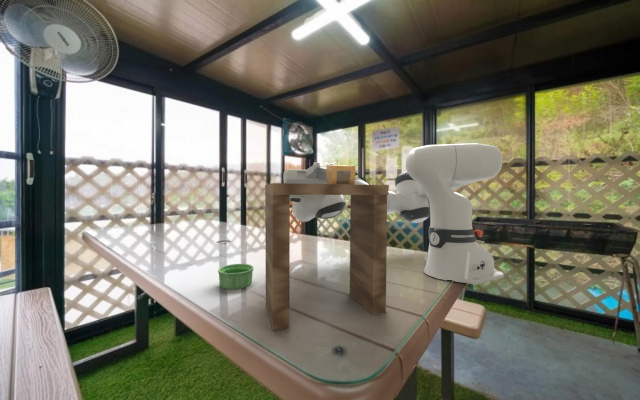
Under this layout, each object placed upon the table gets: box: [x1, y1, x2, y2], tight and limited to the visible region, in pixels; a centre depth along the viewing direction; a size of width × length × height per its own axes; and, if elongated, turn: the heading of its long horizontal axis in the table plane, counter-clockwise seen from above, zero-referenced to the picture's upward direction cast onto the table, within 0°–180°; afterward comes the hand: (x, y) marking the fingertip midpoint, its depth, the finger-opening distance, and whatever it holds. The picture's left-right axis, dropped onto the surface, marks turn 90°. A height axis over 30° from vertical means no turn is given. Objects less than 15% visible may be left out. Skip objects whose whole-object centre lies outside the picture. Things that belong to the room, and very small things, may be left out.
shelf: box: [264, 182, 390, 332], centre depth 54 cm, size 23×12×26 cm, turn 108°
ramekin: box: [217, 263, 254, 290], centre depth 69 cm, size 9×9×4 cm
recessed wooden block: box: [316, 164, 356, 184], centre depth 63 cm, size 5×20×4 cm, turn 13°
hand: (325, 165), depth 69 cm, fingers closed on recessed wooden block, 3 cm apart
